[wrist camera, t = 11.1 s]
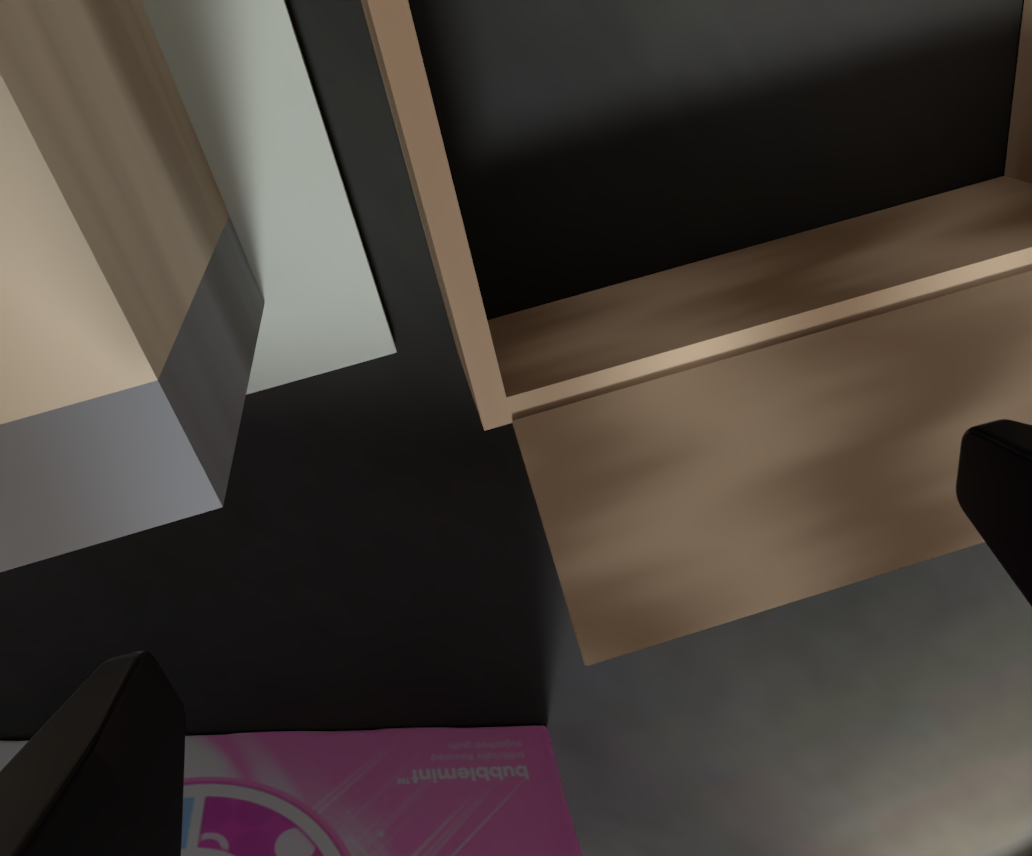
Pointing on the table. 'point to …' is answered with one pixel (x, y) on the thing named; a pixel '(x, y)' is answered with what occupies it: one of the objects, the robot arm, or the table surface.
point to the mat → (276, 183)
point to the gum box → (373, 793)
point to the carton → (744, 389)
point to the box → (110, 287)
